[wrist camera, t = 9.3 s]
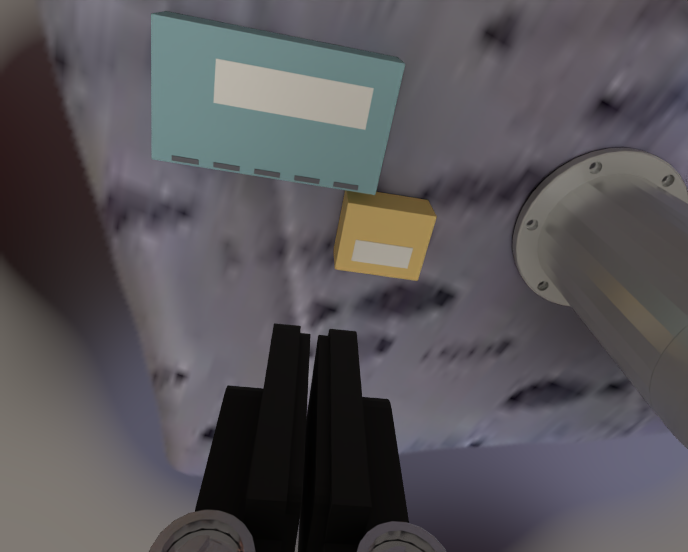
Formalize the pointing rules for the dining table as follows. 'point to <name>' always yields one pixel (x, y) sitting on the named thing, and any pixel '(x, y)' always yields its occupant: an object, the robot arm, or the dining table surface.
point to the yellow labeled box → (383, 234)
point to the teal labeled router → (270, 103)
